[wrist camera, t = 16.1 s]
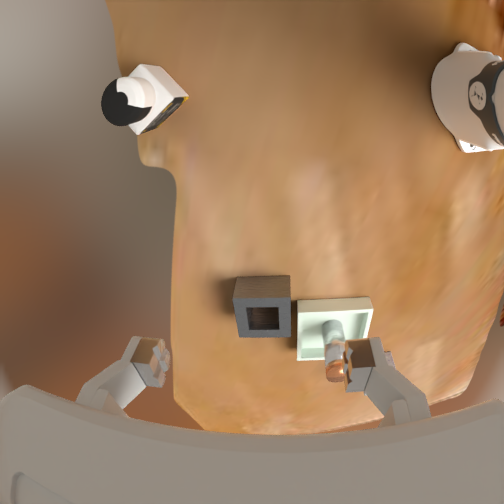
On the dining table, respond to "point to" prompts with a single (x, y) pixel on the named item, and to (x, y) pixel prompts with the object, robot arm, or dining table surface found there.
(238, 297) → the block
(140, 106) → the medicine bottle
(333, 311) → the tray
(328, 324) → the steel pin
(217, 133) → the dining table surface
